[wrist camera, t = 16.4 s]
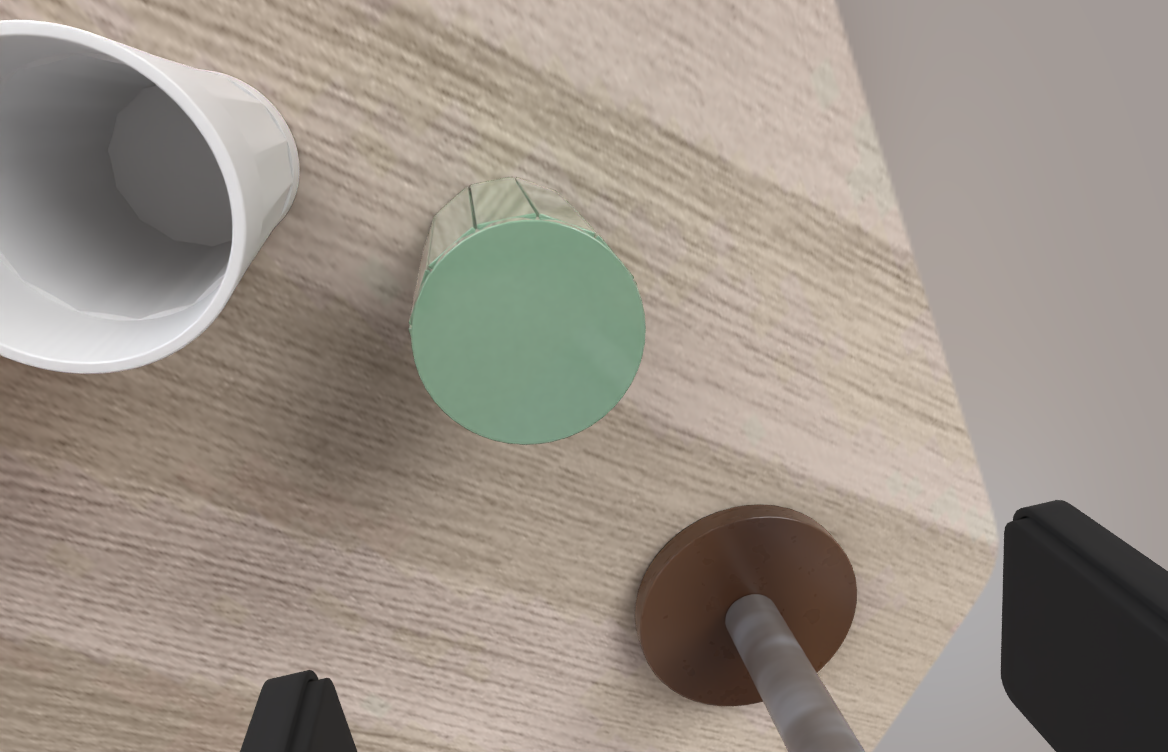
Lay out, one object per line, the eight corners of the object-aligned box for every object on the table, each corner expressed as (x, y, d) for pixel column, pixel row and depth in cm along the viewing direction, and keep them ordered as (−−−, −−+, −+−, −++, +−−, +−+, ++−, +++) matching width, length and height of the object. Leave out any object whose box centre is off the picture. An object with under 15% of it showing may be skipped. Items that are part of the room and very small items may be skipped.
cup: (366, 151, 30) (315, 194, 19) (239, 309, 31) (122, 434, 20) (175, -9, 27) (-16, -69, 16) (45, 170, 29) (-215, 228, 18)
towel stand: (841, 481, 38) (1090, 738, 23) (851, 661, 42) (1069, 979, 27) (619, 533, 38) (729, 834, 22) (650, 711, 42) (762, 1069, 26)
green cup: (576, 164, 31) (628, 198, 22) (603, 326, 34) (660, 418, 25) (404, 196, 31) (383, 246, 22) (444, 359, 33) (441, 466, 24)
